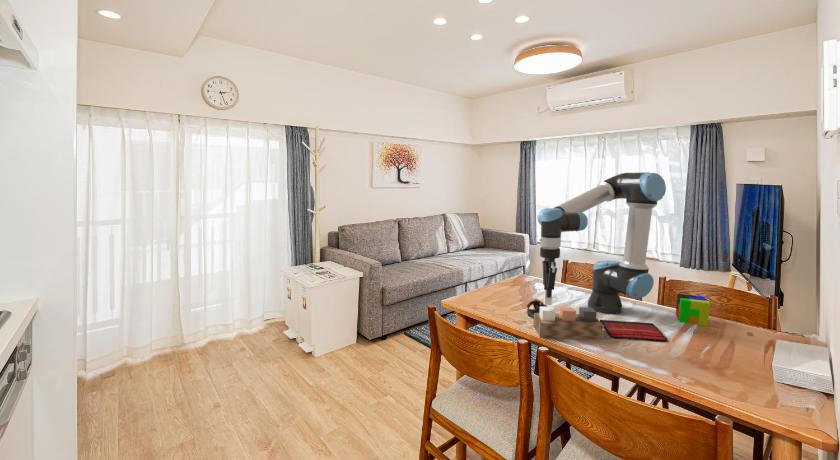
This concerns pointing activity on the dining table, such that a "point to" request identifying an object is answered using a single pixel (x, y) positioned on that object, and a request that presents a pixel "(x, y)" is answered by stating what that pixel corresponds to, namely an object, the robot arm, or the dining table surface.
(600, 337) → the key block
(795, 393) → the dining table surface
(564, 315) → the salmon orange block
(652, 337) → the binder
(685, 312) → the puzzle toy
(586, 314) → the dark grey block
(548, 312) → the white block
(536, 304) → the pottery mug
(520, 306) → the dining table surface
